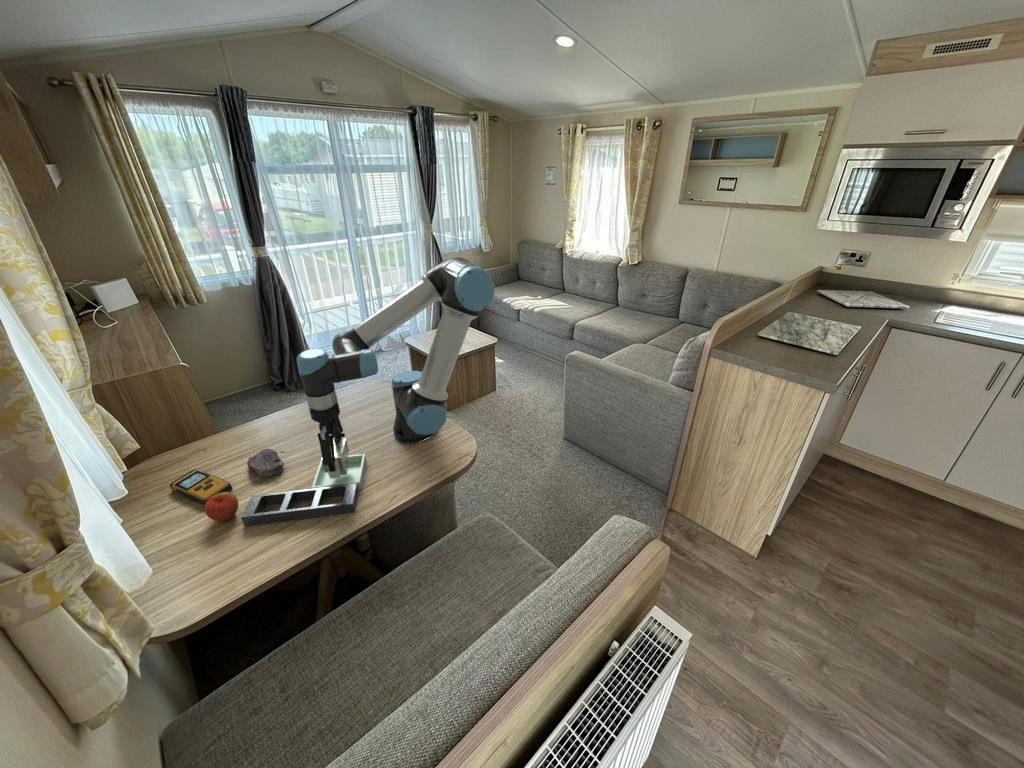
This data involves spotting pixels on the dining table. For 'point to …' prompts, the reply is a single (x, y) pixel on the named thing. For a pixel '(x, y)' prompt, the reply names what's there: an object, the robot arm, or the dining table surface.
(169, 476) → the dining table surface
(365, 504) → the dining table surface
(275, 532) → the dining table surface
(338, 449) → the white rectangular block
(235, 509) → the apple
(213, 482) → the electronic device
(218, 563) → the dining table surface
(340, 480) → the tray
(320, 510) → the rail
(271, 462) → the rock
